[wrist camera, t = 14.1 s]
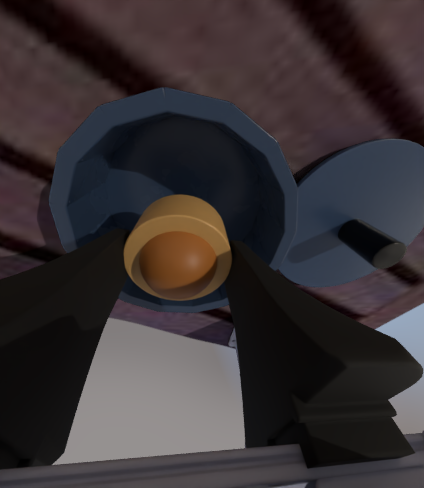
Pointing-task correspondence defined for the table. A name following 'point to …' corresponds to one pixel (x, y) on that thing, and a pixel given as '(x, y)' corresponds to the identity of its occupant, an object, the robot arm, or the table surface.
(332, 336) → the robot arm
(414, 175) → the lid
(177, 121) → the pot
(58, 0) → the table surface
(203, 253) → the ball in tan cup
